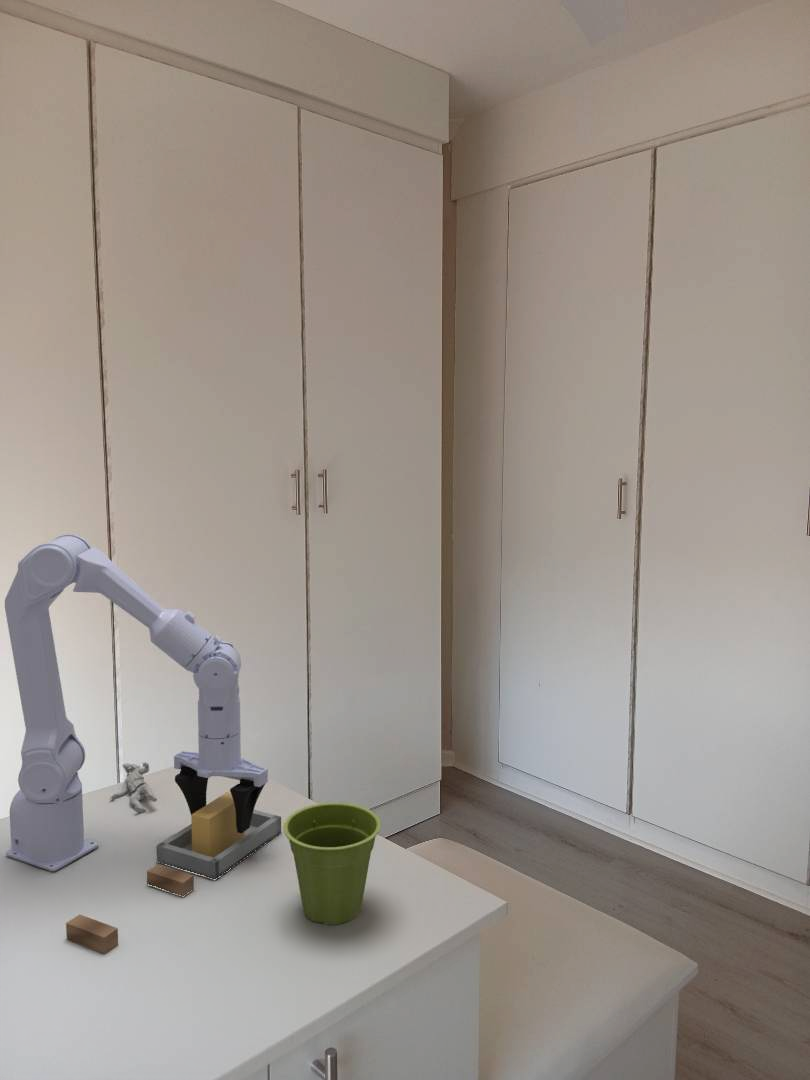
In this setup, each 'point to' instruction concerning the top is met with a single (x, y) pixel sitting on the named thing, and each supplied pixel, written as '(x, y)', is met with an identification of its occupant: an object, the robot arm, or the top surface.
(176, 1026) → the top surface
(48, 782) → the robot arm
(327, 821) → the plant pot
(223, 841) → the block
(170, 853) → the tray
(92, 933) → the brown block pair
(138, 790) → the soldier figure
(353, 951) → the top surface
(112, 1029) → the top surface
